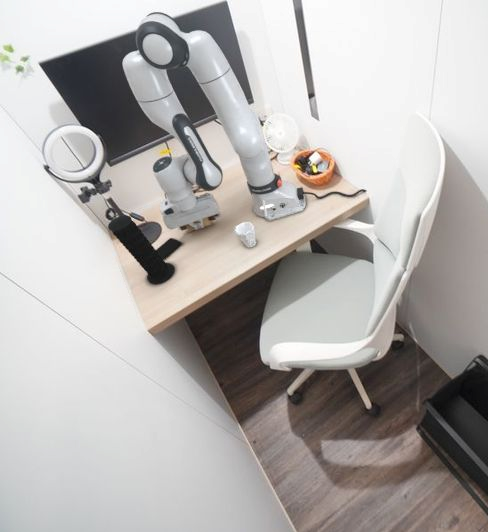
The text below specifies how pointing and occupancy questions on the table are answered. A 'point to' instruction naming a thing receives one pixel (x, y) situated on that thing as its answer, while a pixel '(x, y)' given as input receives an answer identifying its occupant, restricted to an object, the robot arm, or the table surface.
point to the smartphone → (168, 248)
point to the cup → (246, 233)
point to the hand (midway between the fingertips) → (199, 227)
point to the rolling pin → (205, 222)
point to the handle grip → (141, 249)
